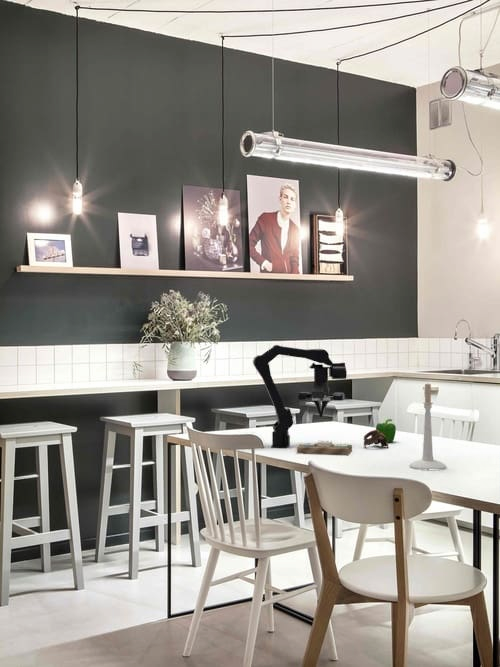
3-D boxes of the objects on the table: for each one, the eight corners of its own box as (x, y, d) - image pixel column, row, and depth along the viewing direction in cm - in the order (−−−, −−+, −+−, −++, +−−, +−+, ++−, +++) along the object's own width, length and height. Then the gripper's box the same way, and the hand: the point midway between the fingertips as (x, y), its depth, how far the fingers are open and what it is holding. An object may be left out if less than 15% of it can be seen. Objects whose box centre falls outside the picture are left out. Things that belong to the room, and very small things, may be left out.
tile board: (296, 453, 337) (296, 447, 337) (302, 449, 348) (302, 443, 348) (347, 455, 332) (347, 449, 332) (351, 450, 343) (351, 444, 343)
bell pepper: (373, 443, 365) (373, 419, 364) (378, 440, 372) (378, 417, 372) (393, 444, 361) (393, 420, 361) (397, 441, 369) (397, 418, 369)
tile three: (333, 451, 337) (333, 445, 337) (335, 449, 341) (335, 443, 341) (346, 451, 335) (346, 445, 335) (348, 450, 340) (348, 443, 340)
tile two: (317, 448, 338) (317, 441, 338) (319, 446, 343) (319, 440, 343) (330, 448, 337) (330, 442, 337) (331, 446, 342) (331, 440, 342)
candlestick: (428, 463, 314) (428, 380, 313) (454, 468, 303) (454, 383, 302) (401, 466, 307) (401, 382, 306) (427, 471, 296) (427, 384, 296)
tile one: (301, 450, 340) (301, 444, 340) (303, 448, 345) (303, 442, 345) (313, 450, 339) (313, 444, 338) (315, 448, 343) (315, 442, 343)
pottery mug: (391, 450, 347) (382, 433, 345) (370, 460, 349) (361, 443, 347) (388, 439, 359) (379, 422, 357) (367, 448, 360) (359, 432, 358)
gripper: (294, 380, 350) (295, 418, 350) (340, 381, 345) (340, 419, 346) (300, 378, 361) (300, 415, 361) (344, 379, 356) (344, 416, 356)
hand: (321, 417), depth 356 cm, fingers closed
